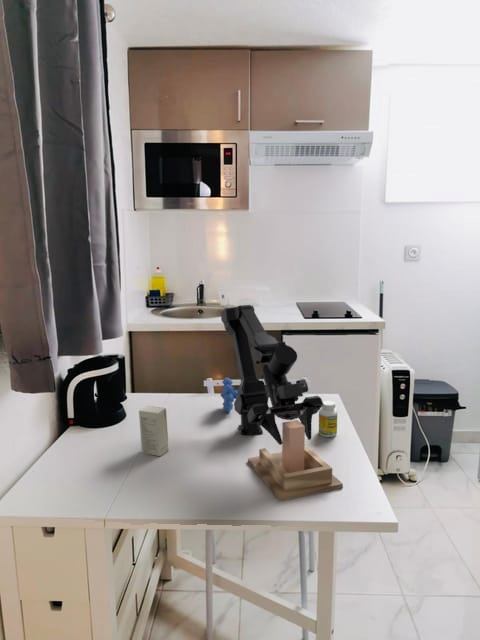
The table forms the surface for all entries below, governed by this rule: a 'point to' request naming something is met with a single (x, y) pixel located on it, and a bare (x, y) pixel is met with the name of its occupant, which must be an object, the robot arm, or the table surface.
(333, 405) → the supplement bottle
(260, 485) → the table surface
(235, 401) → the robot arm
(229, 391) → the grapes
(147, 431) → the skincare box
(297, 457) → the clay block
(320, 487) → the rack
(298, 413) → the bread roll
